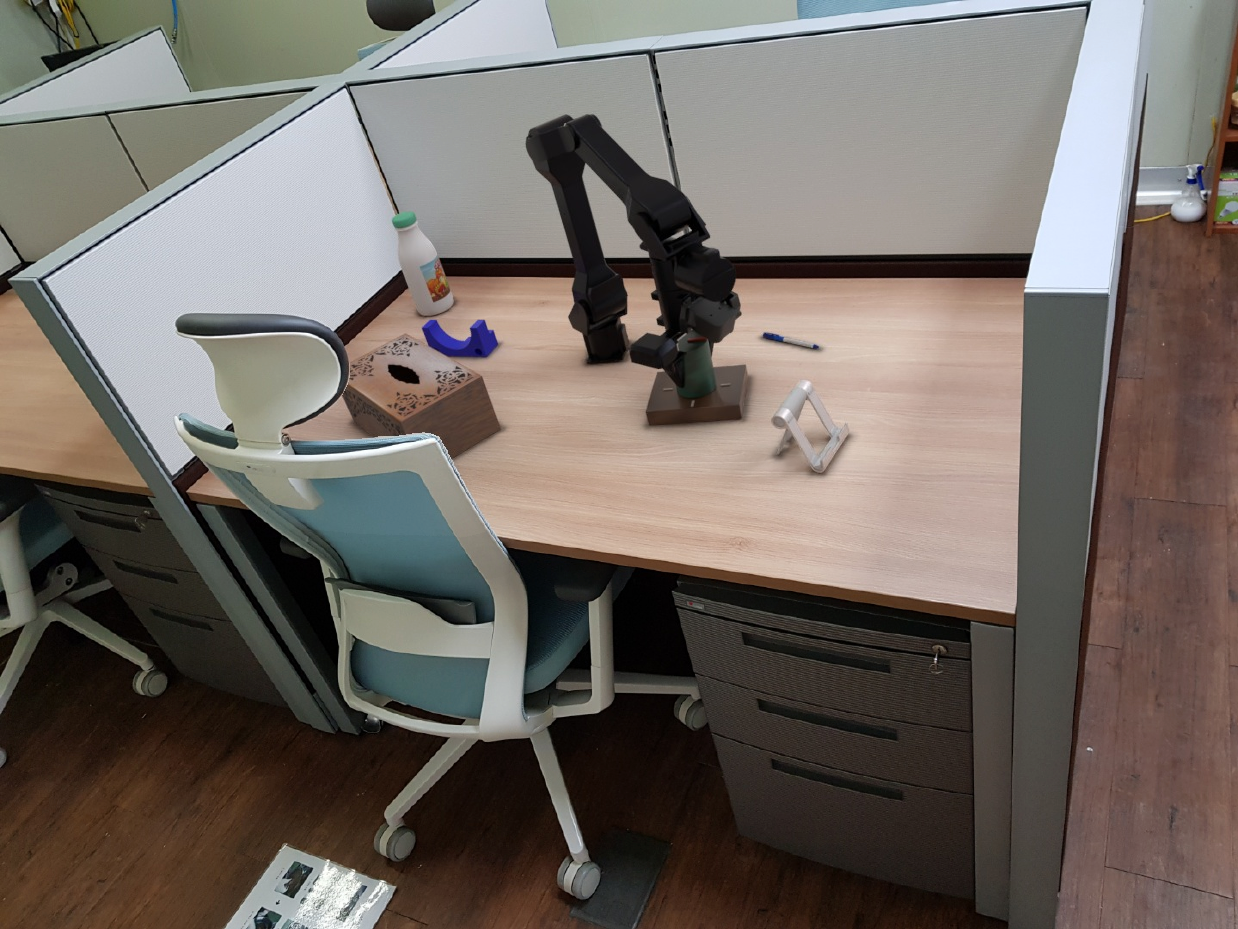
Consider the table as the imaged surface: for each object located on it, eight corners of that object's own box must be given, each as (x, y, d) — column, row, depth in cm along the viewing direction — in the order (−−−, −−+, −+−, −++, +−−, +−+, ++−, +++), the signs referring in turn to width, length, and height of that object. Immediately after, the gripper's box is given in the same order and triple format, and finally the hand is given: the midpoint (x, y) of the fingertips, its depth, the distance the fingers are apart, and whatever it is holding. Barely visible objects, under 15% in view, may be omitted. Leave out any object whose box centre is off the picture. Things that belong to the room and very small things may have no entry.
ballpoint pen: (761, 338, 152) (760, 333, 151) (764, 335, 152) (763, 330, 151) (817, 350, 145) (817, 344, 144) (820, 347, 146) (819, 341, 145)
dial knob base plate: (648, 425, 138) (645, 410, 137) (660, 385, 147) (656, 370, 145) (741, 419, 135) (739, 403, 133) (748, 377, 143) (745, 363, 141)
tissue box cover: (500, 428, 147) (482, 375, 141) (423, 475, 141) (400, 421, 135) (425, 381, 165) (405, 333, 159) (353, 421, 159) (331, 372, 153)
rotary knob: (674, 399, 138) (663, 351, 133) (679, 378, 142) (669, 330, 138) (713, 396, 136) (704, 348, 131) (718, 374, 141) (709, 327, 136)
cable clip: (498, 344, 171) (488, 315, 167) (486, 357, 167) (476, 328, 164) (444, 343, 176) (434, 315, 172) (432, 355, 172) (421, 327, 169)
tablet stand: (825, 474, 120) (819, 421, 116) (770, 464, 125) (762, 413, 120) (849, 436, 126) (845, 384, 121) (795, 427, 130) (789, 377, 125)
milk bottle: (424, 320, 186) (388, 227, 174) (414, 308, 192) (378, 217, 180) (459, 306, 188) (426, 213, 176) (448, 294, 194) (415, 203, 182)
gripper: (679, 323, 119) (699, 422, 128) (761, 259, 129) (774, 355, 138) (615, 309, 126) (638, 404, 135) (698, 250, 136) (714, 342, 145)
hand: (694, 376), depth 138 cm, fingers closed on rotary knob, 6 cm apart
